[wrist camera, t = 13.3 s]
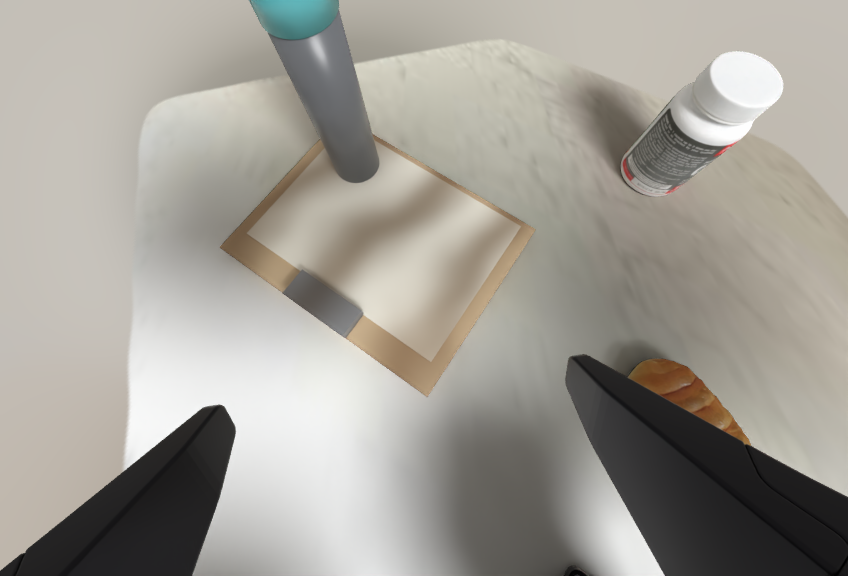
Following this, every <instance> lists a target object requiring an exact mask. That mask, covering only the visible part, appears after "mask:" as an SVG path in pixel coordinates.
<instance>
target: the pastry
mask: <svg viewBox="0 0 848 576" xmlns="http://www.w3.org/2000/svg"><path fill="white" fill-rule="evenodd" d="M628 378H630V379H631V380H633V381H635V382H637V383H639V384H640V385H642V386H644V387H646V388H648V389H649V390H651V391H653V392H655V393H657V394H658V395H660V396H662V397H664V398H666V399H667V400H669V401H671V402H673V403H675V404H676V405H678V406H680V407H682V408H684V409H685V410H687V411H689V412H691V413H693V414H694V415H696V416H698V417H700V418H702V419H703V420H705V421H707V422H709V423H711V424H712V425H714V426H716V427H718V428H720V429H721V430H723V431H725V432H727V433H729V434H730V435H732V436H734V437H736V438H738V439H739V440H741V441H743V442H744V444H749V445H750V446H751V444H750V442H749V439H748V438H747V437H746V435H745V434H744V433H743V431H742V429H741V428H740V427H739V426H738V424H737V423H736V421H735V420H734V418H733V417H732V415H731V414H730V413H729V411H728V410H727V409H725V408H724V407H723V406H722V404H721V403H720V401H719V400H718V398H717V397H716V396H715V395H713V394H712V392H711V391H710V390H709V389H708V388H707V387H706V386H705V384H704V383H703V381H702V380H700V379H699V378H698V377H697V376H696V375H695V374H694V373H693V372H692V371H691V370H690V369H689V368H688V367H687V366H684V365H681V364H679V363H676V362H674V361H670V360H666V359H648V360H645V361H643V362H641V363H639V364H638V365H637V366H636V367H635V368H634V369H633V371H632V372H631V373H630V375H629V376H628Z"/></svg>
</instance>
